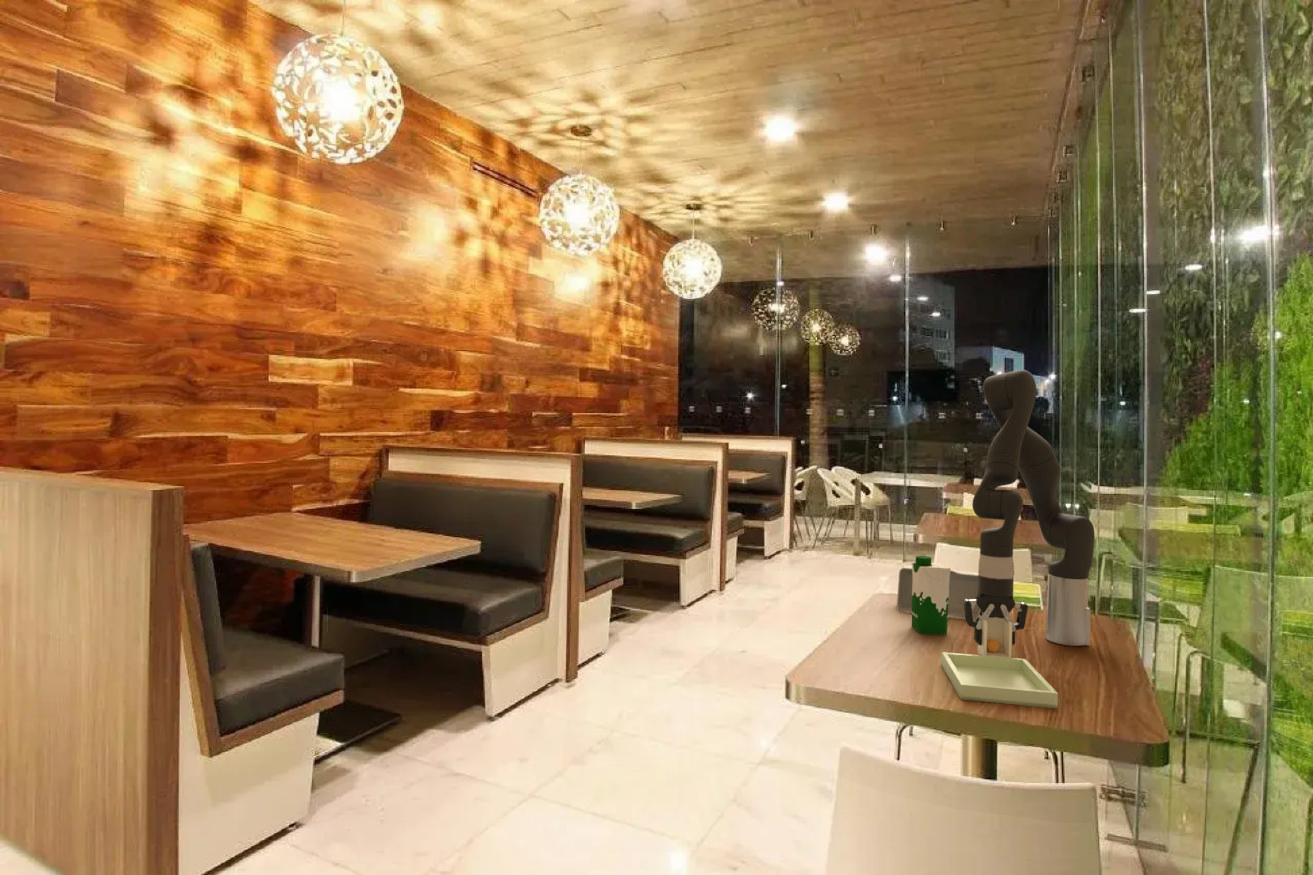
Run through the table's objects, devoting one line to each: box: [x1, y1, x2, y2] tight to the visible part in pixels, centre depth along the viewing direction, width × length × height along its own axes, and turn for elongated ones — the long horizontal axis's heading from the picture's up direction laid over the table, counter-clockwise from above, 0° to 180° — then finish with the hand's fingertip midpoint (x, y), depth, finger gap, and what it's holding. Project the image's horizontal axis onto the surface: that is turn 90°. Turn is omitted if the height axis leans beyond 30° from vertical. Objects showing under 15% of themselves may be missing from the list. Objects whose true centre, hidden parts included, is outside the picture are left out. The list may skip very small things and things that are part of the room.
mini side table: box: [977, 617, 1013, 658], centre depth 172 cm, size 6×6×9 cm
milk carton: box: [911, 555, 951, 636], centre depth 199 cm, size 9×9×20 cm
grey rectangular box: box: [896, 565, 981, 621], centre depth 222 cm, size 25×16×12 cm, turn 65°
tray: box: [940, 651, 1059, 709], centre depth 157 cm, size 18×22×3 cm
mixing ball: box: [987, 639, 1000, 652], centre depth 173 cm, size 3×3×3 cm
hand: (994, 645), depth 172 cm, fingers closed on mini side table, 6 cm apart
